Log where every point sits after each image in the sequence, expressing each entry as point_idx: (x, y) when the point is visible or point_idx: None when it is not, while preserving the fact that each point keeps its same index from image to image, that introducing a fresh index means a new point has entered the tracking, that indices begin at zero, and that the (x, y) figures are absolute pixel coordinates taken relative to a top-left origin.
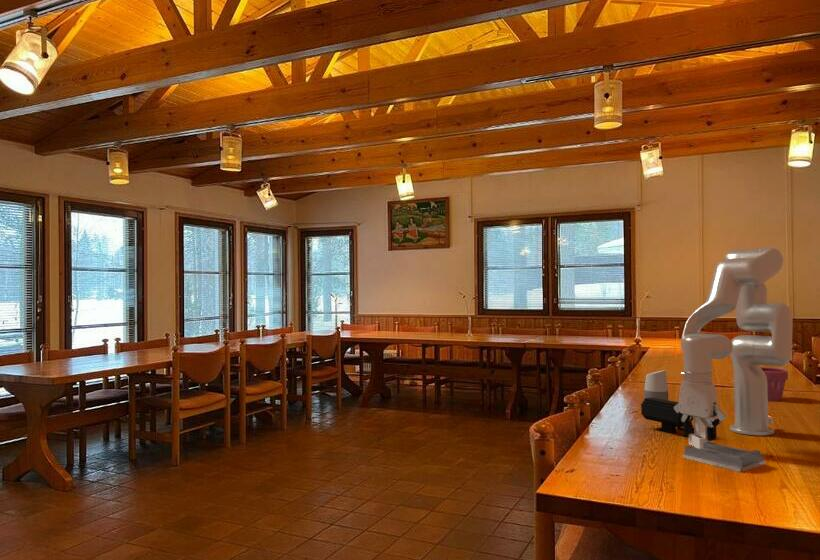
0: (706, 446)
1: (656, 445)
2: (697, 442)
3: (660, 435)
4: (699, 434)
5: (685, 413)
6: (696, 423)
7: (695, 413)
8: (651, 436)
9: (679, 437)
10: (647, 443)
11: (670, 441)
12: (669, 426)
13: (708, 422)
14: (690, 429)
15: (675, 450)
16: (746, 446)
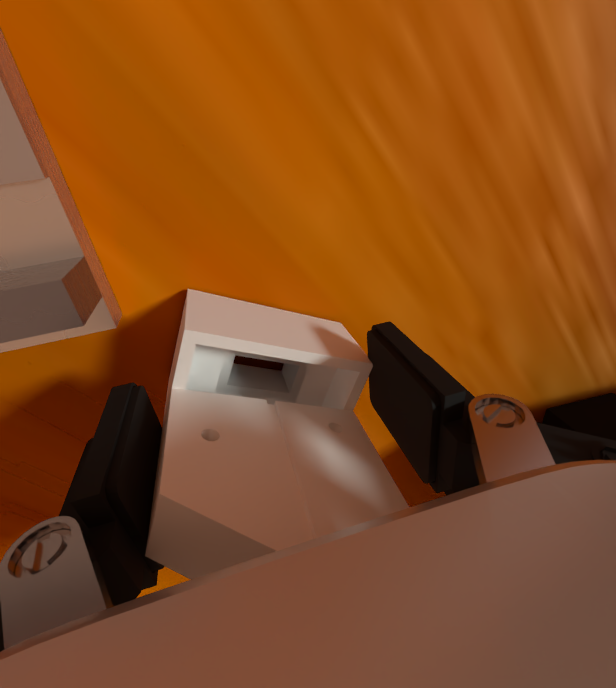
0: (32, 272)
1: (480, 34)
2: (224, 316)
3: (576, 327)
4: (277, 409)
5: (525, 490)
6: (354, 491)
7: (274, 638)
8: (611, 256)
9: (480, 393)
10: (567, 17)
11: (469, 274)
12: (592, 432)
13: (71, 580)
14: (389, 411)
15: (261, 39)
16: (165, 574)
